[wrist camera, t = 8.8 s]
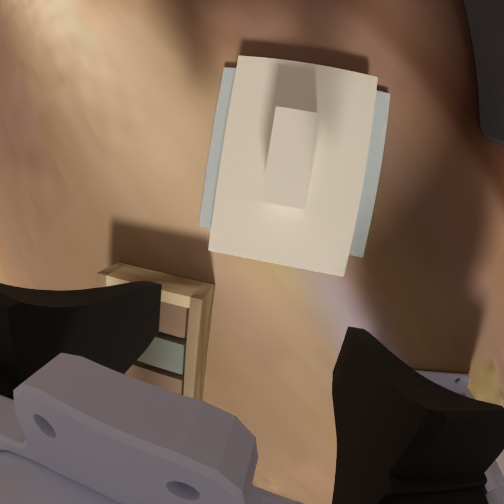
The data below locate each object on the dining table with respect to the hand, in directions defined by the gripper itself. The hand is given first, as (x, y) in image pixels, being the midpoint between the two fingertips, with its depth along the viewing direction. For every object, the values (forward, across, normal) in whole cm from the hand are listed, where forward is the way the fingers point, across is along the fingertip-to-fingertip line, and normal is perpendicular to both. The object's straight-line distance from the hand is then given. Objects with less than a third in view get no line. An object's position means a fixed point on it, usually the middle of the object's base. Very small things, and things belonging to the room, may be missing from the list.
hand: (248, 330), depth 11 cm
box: (+10, +8, +9) cm, 16 cm away
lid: (+9, 0, -7) cm, 11 cm away
